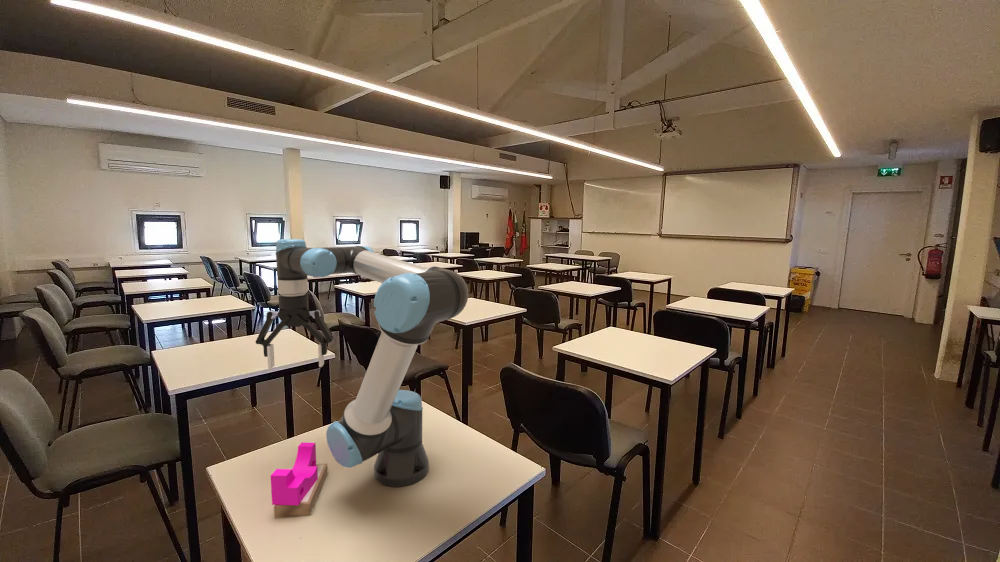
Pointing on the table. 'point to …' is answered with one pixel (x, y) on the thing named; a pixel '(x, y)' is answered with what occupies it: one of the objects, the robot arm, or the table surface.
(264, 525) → the table surface
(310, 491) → the base slab
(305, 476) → the magenta bracket
